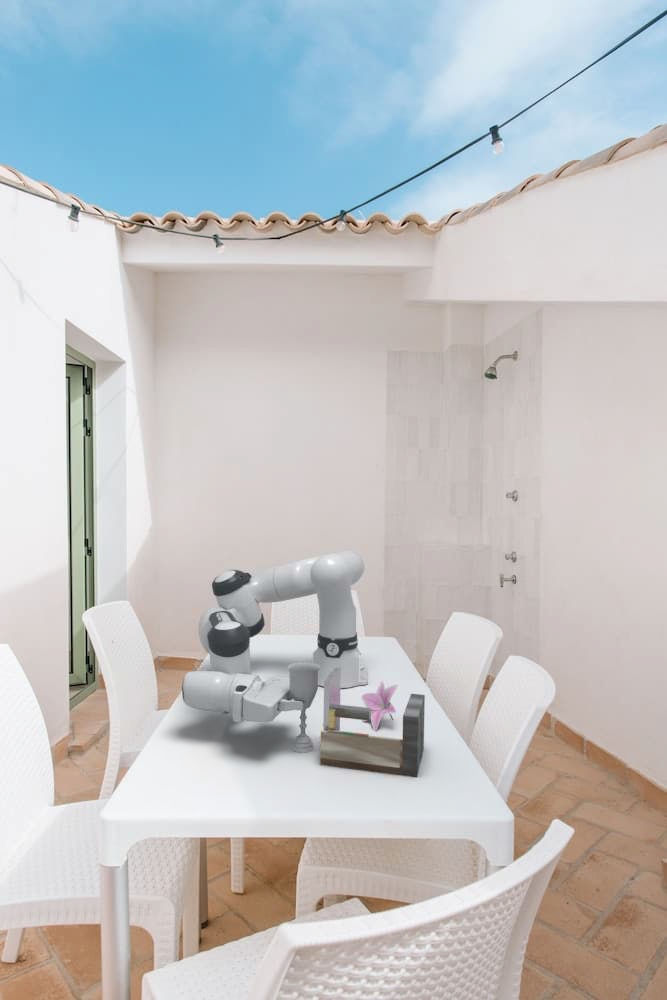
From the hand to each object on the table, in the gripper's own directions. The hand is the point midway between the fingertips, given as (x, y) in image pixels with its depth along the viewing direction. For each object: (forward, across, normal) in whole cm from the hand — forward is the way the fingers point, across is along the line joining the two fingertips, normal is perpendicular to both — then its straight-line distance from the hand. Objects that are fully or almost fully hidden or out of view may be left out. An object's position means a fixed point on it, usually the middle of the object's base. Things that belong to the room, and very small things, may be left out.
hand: (307, 700), depth 133 cm
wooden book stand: (+15, 0, -10) cm, 18 cm away
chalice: (-1, 0, -11) cm, 11 cm away
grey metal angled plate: (+10, +1, -9) cm, 13 cm away
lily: (+13, -19, -11) cm, 26 cm away
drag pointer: (+7, +6, -9) cm, 12 cm away
